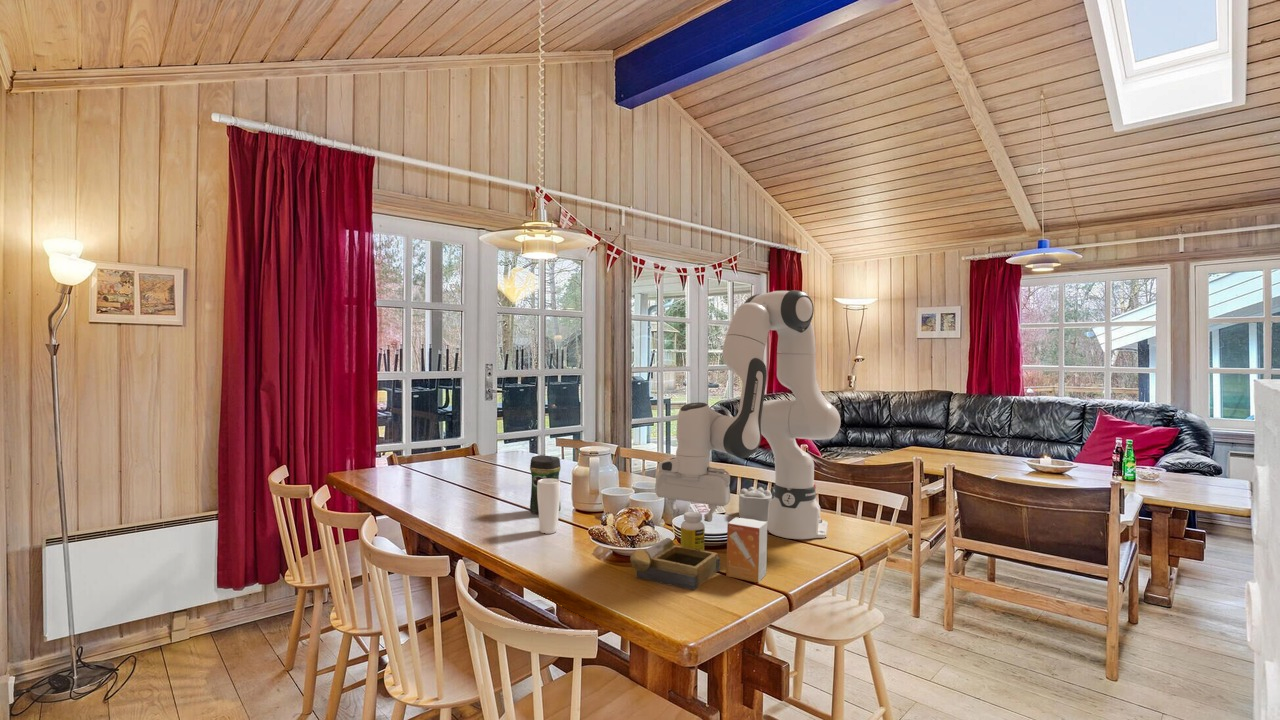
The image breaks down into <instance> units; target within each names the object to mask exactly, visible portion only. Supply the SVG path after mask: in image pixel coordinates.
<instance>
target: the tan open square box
mask: <svg viewBox="0 0 1280 720" xmlns="http://www.w3.org/2000/svg"><path fill="white" fill-rule="evenodd" d="M629 560H630V564H631V567H632V568H633V570H635V571H636V578H638V579H642V580H645V581H652V582H656V583H660V584H664V585H668V586H673V587H679V588H681V589H686V590H691V591H695V590H697V589H698V588H699V587H701V585H703V584H704V583H705V582H706V581H708V580H709V579H711V578H712V577H713V576H714V575H715V574H717V573H718V572H719V571H720V570H721V557H719V553H717V552H712V551H708V550H704V551H703V550H698V549H693V548H687V547H682V546H681V545H677V544H674V541H673V540H672V539H671V538H670V537H667V538H664V539H662V540H660V541H659V542H657V543H655V544H654V545H652V546H650V547H648V548H647V549H644V548H643V549H642V548H638V549H636V550H634V551H633V552H632V553H631V555H630V559H629Z"/></svg>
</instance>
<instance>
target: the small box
mask: <svg viewBox="0 0 1280 720" xmlns="http://www.w3.org/2000/svg"><path fill="white" fill-rule="evenodd" d="M726 530H727V531H726V532H727V535H726V540H727V541H726V571H725V572H726V573H725V575H726V577H727V578H735V579H738V580H744V581H747V582H752V583H756V582H759V581H760V580H761V581H762V580H763V579H764V578H765V576H767V562H768V561H767V555H768V549H767V548H768V547H767V546H768V530H767V521H758V520H753V519H745V518H739V516H735V517H734V518H733V519H731V520H730V521H729V522H727V529H726ZM761 581H760V582H761ZM760 582H759V583H760Z"/></svg>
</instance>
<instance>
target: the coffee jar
mask: <svg viewBox="0 0 1280 720" xmlns="http://www.w3.org/2000/svg"><path fill="white" fill-rule="evenodd" d="M561 467H562V466H561V459H560V457H558V456H552V455H542V454H541V455H539V454H538V455H535V456H532V457H531V459H530V465H529V470H530V471H529V472H530V475H531V491H530V502H529V511H530V513H532V514H536V515H539V512H538V499H537V483H538V480H541V479H549V478H551V479H558V480H560V479H559V478H560V477H559V476H560V472H561ZM560 511H561V504H560V505H559V512H560Z"/></svg>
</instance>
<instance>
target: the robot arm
mask: <svg viewBox="0 0 1280 720" xmlns="http://www.w3.org/2000/svg"><path fill="white" fill-rule="evenodd" d="M814 313H815V310H814V303H813V300H812V299H811V297H810V295H809V294H808V293H806V292H804V291H802V290H796V289H795V290H794V289H793V290H774V291H770V292H765V293H757V294H753V295H752V296H750V297H748V298H747V299H746V300H745V301H744V303H742V304H741V305H739V307H738V308H737V309H736V311H735V313H734V315H733V317H732V319H731V322H730V324H729V326H728V329H727V331H726V336H725V339H724V341H723V346H722V351H721V353H722V360H723V362H724V363H725V366H726V367H728V369H729V370H730V371H731V372H733V373H735V374H736V375H737V376H738V377H739V378H740V380H741V385H742V386H741V393H740V394H741V395H740V401H739V407H738V413H736V415H735V416H730V415H724V414H722V413H719V412H717V411H715V410H714V409H712V408H711V407H710V406H709V405H708V403H706V402H690V403H687V404H684V405H682V406H681V407H680V409H679V411H678V414H677V421H676V434H675V436H676V441H677V447H676V451H675V457H671V458H669V459H666V460H663V461H661V462H658V465H657V468H658V472H657V474H656V476H655V483H654V484H655V485H654V491H655V495H656V497H658V498H664V499H667V504H668V506H669V508H670V510H671V513H670V515H671V516H672V517H678V516H679V515H680V508H677V506H676V503H675V502H676V501H684V502H690V503H697V504H705V505H707V507H708V509H709V510H708V512H707V513H705V514H703V515H704V519H703V521H704V522H709V523H710V522H712V521H713V514H715V511H716V509H717V507H725V506H727V505H728V504H729V503H730V502H731V490H730V489H731V488H730V484H731V475H730V473H729V471H726V469H725V468H716V467H711V466H710V463H711V461H710V460H711V452H710V451H711V450H714V451H717V452H720V453H724V454H729V455H731V456H733V457H736V458H740V459H746V458H749V457H751V456H752V455H753V454H754V453H755V452H756V451H757V450H758V449H759V447H760V444H761V441H762V436H763V438H765V439H766V441H767V443H768V444H769V447H770V448H771V451H772V454H773V457H774V470H775V471H774V474H775V475H774V477H775V478H774V479H775V481H774V483H773V489H772V490H773V497H772V500H771V501H769V506H768V520H767V521H766V522H767V532H769V533H771V534H772V535H774V536H777V537H781V538H785V539H790V540H791V539H793V540H810V539H824V538H825V537H826V538H827V536H826V535H828V528H829V524H828V523H829V522H828V521H826V520H824V519H822V518H821V506H820V504H819V502H818V500H817V499H816V497H817V490H816V489H817V484H816V483H815V462H814V459H813V457H812V456H811V454H809V453H807V452H806V451H805V450H803V449H801V447H800V446H799V445H798V443H797V440H796V439H801V440H811V441H820V440H830V439H833V438H834V437H836V435H837V434H838V433H839V431H840V427H841V420H842V419H841V415H840V413H839V411H838V409H837V408H836V407H835V406H834V405H833V404H831V402H829V400H827V398H826V397H825V396H824V394H823V393H822V391H821V388H820V386H819V382H818V379H817V363H816V361H817V360H816V359H817V357H816V355H817V354H816V353H817V351H816V350H817V349H816V348H817V347H816V346H817V345H816V337H815V336H816V335H815V331H814V329H815V328H814V325H813V322H812V320H813V317H814ZM770 331H776V333H777V346H776V349H777V350H776V378H777V380H778V382H779V383H780V384H781V386H783V387H785V388H787V389H788V390H790V391H791V392H792V394H793V396H794V400H789V399H769V400H765V395H766V386H767V373H768V371H767V366H766V364H765V363H764V357H765V355H764V354H765V350H766V345H767V342H768V341H767V340H768V336H769V332H770Z"/></svg>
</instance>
